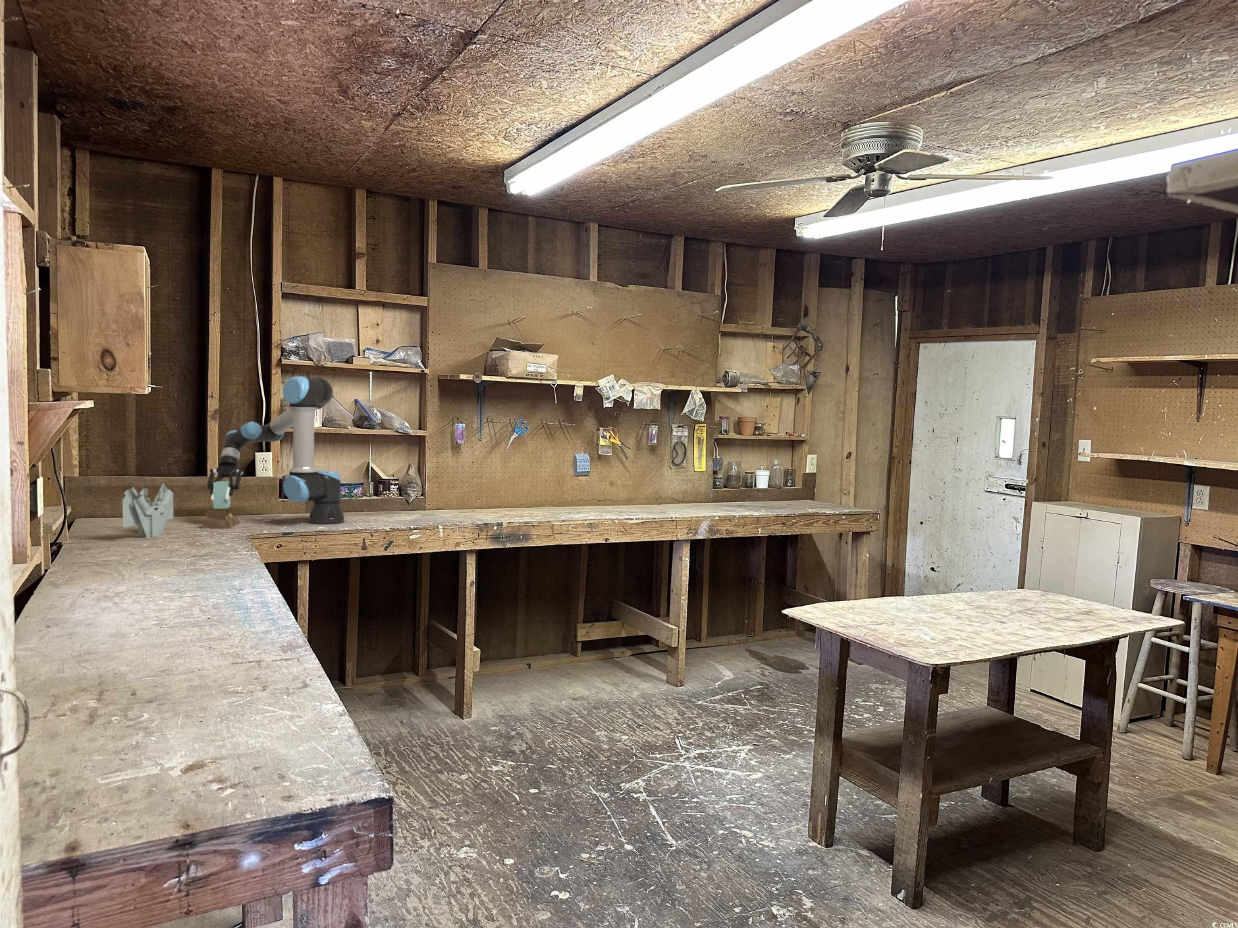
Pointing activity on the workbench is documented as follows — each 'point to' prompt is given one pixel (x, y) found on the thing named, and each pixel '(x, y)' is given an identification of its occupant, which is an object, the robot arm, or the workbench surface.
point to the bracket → (147, 511)
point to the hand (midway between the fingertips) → (219, 500)
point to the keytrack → (219, 520)
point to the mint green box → (220, 494)
